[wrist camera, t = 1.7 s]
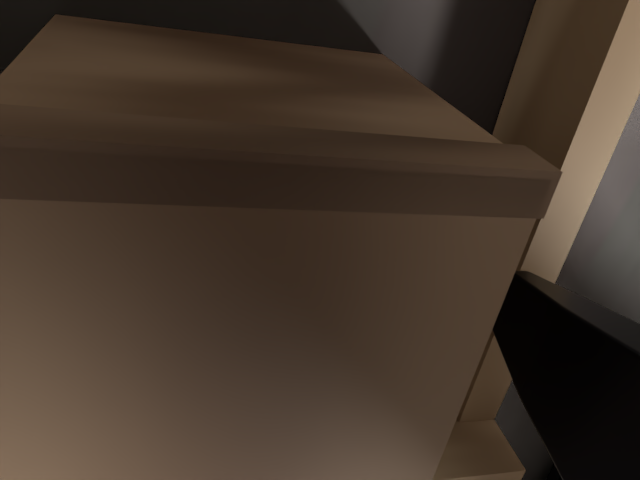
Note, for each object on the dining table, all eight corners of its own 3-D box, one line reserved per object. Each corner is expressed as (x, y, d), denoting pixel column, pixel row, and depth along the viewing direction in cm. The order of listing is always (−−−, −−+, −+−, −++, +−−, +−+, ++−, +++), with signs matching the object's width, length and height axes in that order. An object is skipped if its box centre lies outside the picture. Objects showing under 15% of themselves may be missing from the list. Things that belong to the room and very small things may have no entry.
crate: (387, 48, 11) (563, 172, 6) (333, 297, 14) (423, 514, 9) (49, 6, 10) (-78, 130, 5) (70, 300, 13) (8, 567, 8)
